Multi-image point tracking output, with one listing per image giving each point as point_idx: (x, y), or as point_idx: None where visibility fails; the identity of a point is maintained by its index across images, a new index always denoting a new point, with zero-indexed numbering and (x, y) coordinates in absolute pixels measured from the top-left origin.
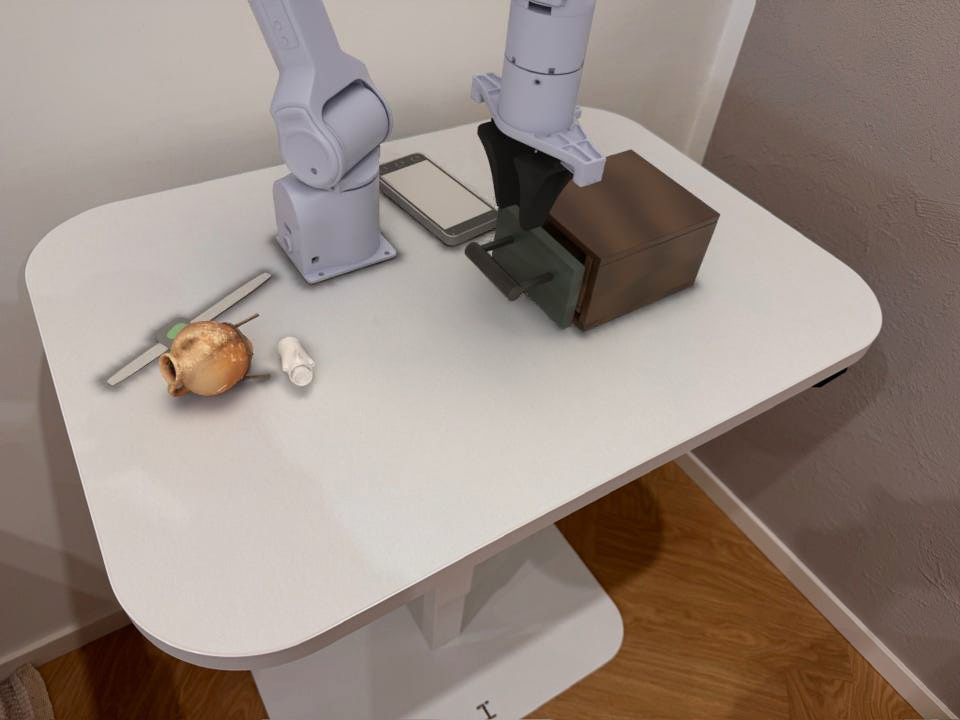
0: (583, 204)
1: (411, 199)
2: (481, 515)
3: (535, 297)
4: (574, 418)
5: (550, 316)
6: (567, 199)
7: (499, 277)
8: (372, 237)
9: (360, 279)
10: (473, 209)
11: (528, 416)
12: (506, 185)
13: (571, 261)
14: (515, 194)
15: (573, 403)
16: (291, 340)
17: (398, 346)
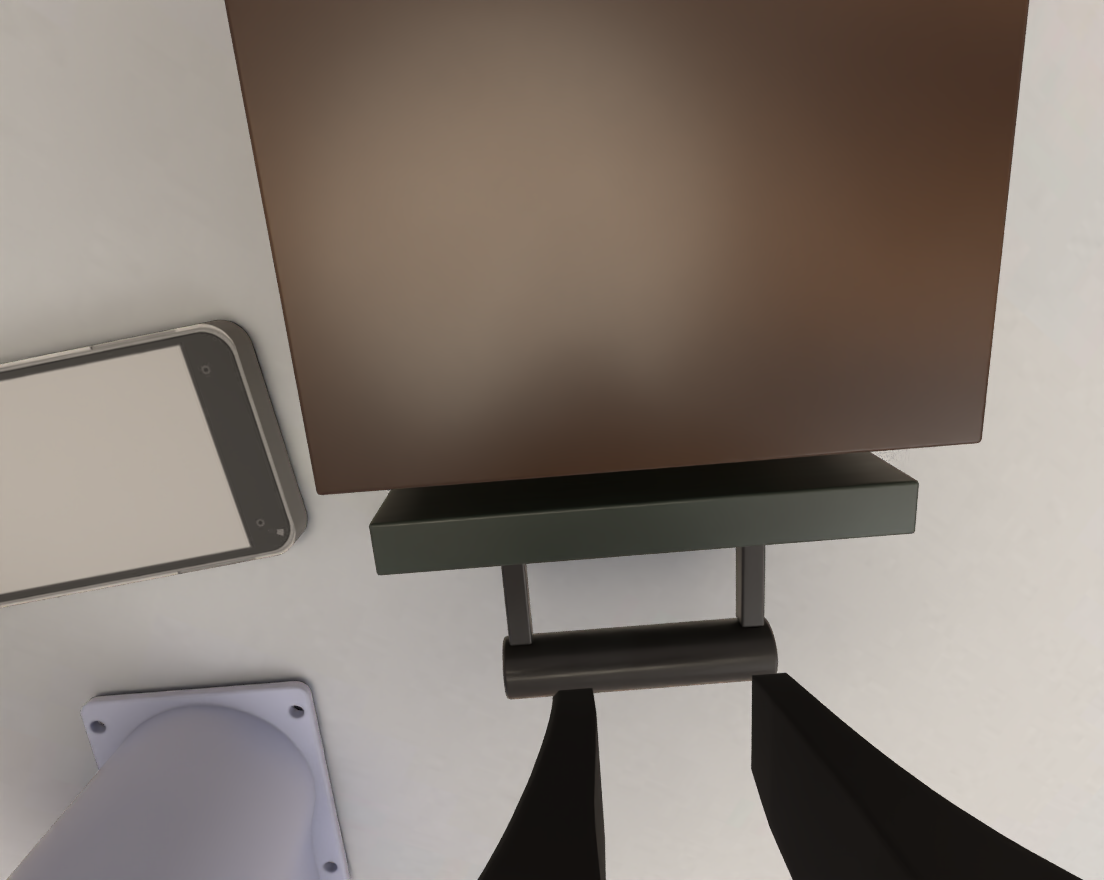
0: (601, 271)
1: (60, 572)
2: (1082, 818)
3: None
4: (1021, 552)
5: None
6: (527, 324)
7: (702, 681)
8: (271, 794)
9: (366, 781)
10: (164, 410)
11: (953, 639)
12: (603, 875)
13: (861, 514)
14: (599, 762)
15: (986, 530)
16: None
17: (621, 788)
